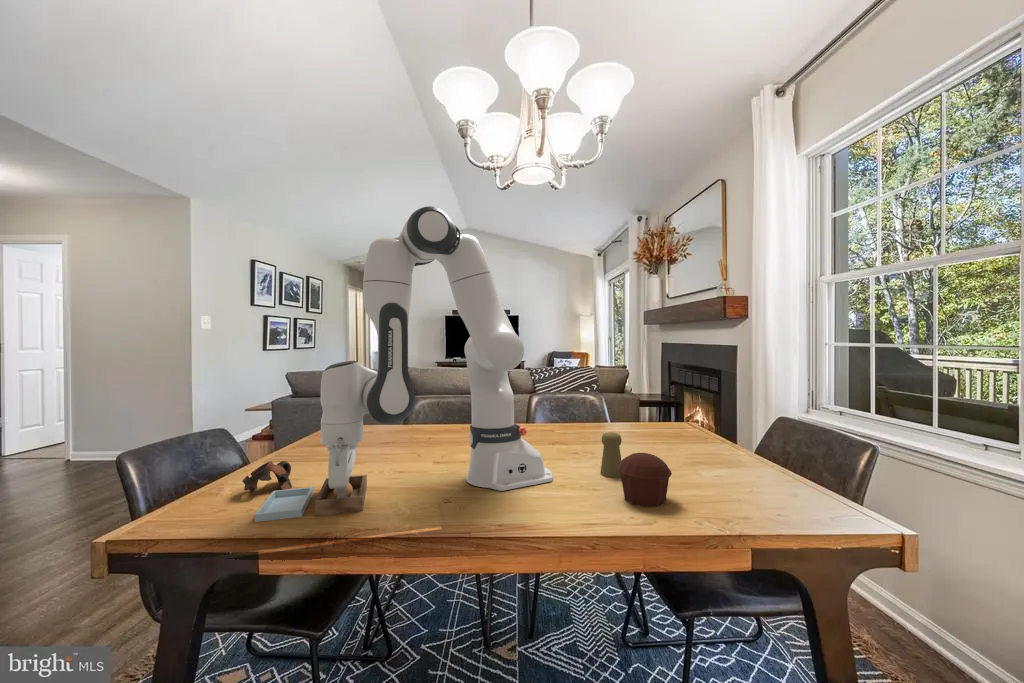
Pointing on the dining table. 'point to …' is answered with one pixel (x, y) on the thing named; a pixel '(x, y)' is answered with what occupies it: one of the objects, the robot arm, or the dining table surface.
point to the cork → (611, 455)
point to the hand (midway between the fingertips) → (343, 494)
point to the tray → (285, 504)
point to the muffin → (644, 479)
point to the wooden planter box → (332, 505)
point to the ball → (348, 488)
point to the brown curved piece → (263, 474)
